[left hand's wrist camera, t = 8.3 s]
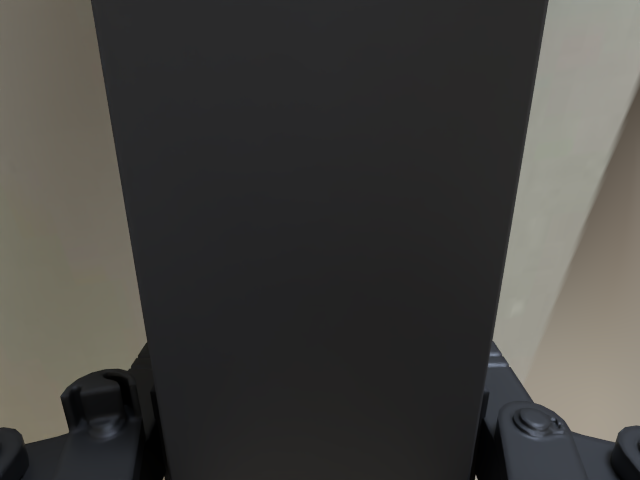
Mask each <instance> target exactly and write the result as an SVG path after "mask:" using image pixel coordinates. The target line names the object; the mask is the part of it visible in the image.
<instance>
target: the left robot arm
mask: <svg viewBox="0 0 640 480" xmlns="http://www.w3.org/2000/svg"><path fill="white" fill-rule="evenodd" d="M60 397H61V401H62V405H63V409H64V412H65V416H66V420H67V424H68V428H69V433H67V434H64V435H61V436H58V437H54V438H50V439H45V440H41V441H37V442H33V443H28V444H24V440H23V437H22V434H20V433H19V432H18V431H17V430H16V429H11V428H5V427H3V428H0V480H163V478H164V477H165V480H170V475H169V469H168V463H167V457H166V451H165V445H164V439H163V433H162V427H161V421H160V415H159V409H158V403H157V396H156V390H155V384H154V378H153V372H152V366H151V360H150V354H149V348H148V342H147V343H146V344H145V346H144V347H143V349H142V350H141V352H140V353H139V355H138V358H136V359H135V361H134V363H133V364H132V366H131V369H129V370H128V371H126V370H122V369H105V370H101V371H97V372H93V373H90V374H88V375H86V376H84V377H81V378H79V379H77V380H76V381H75V382H73V383H72V384H71V385H69V386H68V387H67V388H66V389H65V391H64V392H63V394H62V395H61V396H60ZM475 475H476V476H477V479H478V480H640V426H630V427H625V428H624V429H622V430H621V431H620V432H619V433H618V436H617V439H616V442H611V441H606V440H602V439H598V438H594V437H589V436H585V435H581V434H578V433H575V432H572V431H571V430H570V429H569V427H568V426H567V424H566V422H565V421H564V420H563V419H562V418H561V417H560V416H558V415H557V414H556V413H555V412H553V411H552V410H550V409H548V408H546V407H544V406H542V405H539V404H536V403H534V402H533V400H532V399H531V397H530V396H529V394H528V393H527V391H526V390H525V388H524V387H523V385H522V384H521V382H520V381H519V379H518V378H517V376H516V375H515V373H514V372H513V370H512V369H511V367H509V364H508V363H507V361H506V360H505V358H504V357H502V354H501V352H500V351H499V349H498V348H497V346H496V345H495V343H494V342H493V341H492V345H491V351H490V357H489V363H488V369H487V375H486V382H485V388H484V394H483V400H482V406H481V412H480V418H479V424H478V430H477V436H476V442H475V448H474V454H473V460H472V466H471V472H470V478H469V480H475Z"/></svg>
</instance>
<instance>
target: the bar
mask: <svg viewBox="0 0 640 480" xmlns="http://www.w3.org/2000/svg"><path fill="white" fill-rule="evenodd" d="M91 4H92V10H93V16H94V22H95V28H96V34H97V40H98V46H99V52H100V58H101V64H102V70H103V76H104V82H105V88H106V94H107V100H108V106H109V112H110V118H111V125H112V131H113V137H114V143H115V149H116V155H117V161H118V167H119V173H120V179H121V185H122V191H123V197H124V203H125V209H126V215H127V221H128V227H129V233H130V239H131V245H132V251H133V257H134V264H135V270H136V276H137V282H138V288H139V294H140V300H141V306H142V312H143V318H144V324H145V330H146V336H147V342H148V348H149V354H150V360H151V366H152V372H153V378H154V384H155V390H156V396H157V403H158V409H159V415H160V421H161V427H162V433H163V439H164V445H165V451H166V457H167V463H168V469H169V475H170V480H469V478H470V472H471V466H472V460H473V454H474V448H475V442H476V436H477V430H478V424H479V418H480V412H481V406H482V400H483V394H484V388H485V382H486V375H487V369H488V363H489V357H490V351H491V345H492V339H493V333H494V327H495V321H496V315H497V309H498V303H499V297H500V291H501V285H502V279H503V273H504V267H505V260H506V254H507V248H508V242H509V236H510V230H511V224H512V218H513V212H514V206H515V200H516V194H517V188H518V182H519V176H520V170H521V164H522V158H523V151H524V145H525V139H526V133H527V127H528V121H529V115H530V109H531V103H532V97H533V91H534V85H535V79H536V73H537V67H538V61H539V55H540V49H541V42H542V36H543V30H544V24H545V18H546V12H547V6H548V0H91Z"/></svg>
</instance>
